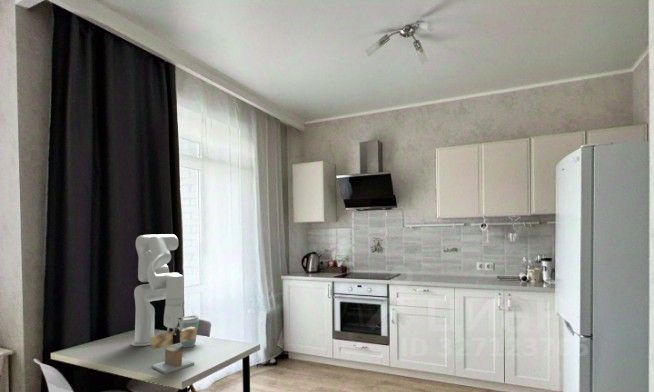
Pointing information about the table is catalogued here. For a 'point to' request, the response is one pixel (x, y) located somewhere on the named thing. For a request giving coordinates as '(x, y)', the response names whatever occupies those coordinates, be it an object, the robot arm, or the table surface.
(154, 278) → the robot arm
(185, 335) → the oak bar
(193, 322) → the disposable coffee cup
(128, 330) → the table surface
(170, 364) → the stand
